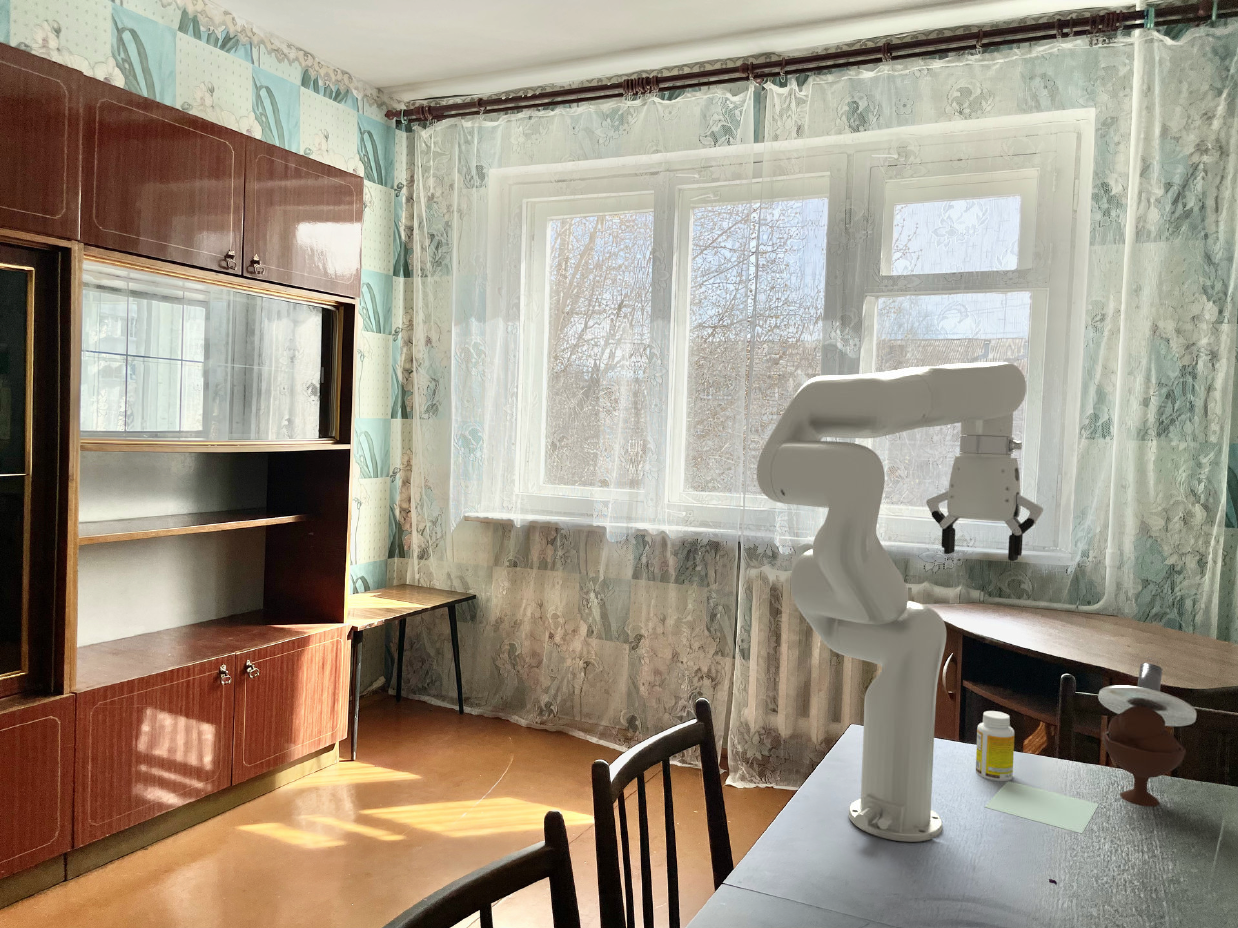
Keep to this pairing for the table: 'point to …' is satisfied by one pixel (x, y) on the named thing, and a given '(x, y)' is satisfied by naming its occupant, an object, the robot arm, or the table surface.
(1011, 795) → the mat
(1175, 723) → the lid
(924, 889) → the table surface
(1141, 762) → the ice cream bowl
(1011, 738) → the supplement bottle
